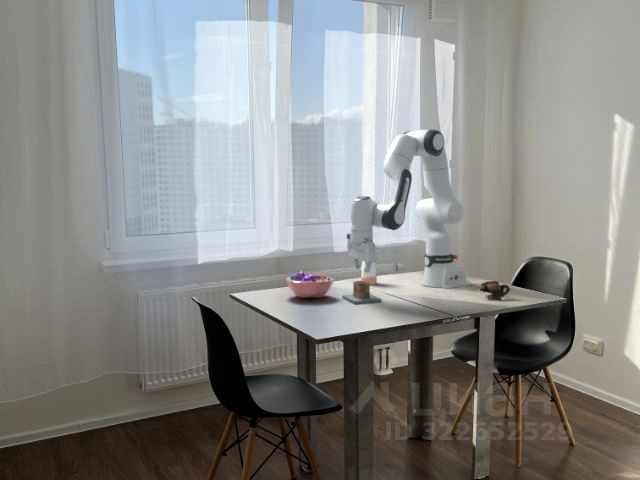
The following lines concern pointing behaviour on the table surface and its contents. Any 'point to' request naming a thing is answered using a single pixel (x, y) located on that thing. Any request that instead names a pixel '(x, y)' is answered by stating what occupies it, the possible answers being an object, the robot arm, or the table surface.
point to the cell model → (309, 285)
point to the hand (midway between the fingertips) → (362, 270)
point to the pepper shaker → (369, 274)
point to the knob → (361, 289)
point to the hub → (362, 300)
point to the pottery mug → (494, 290)
